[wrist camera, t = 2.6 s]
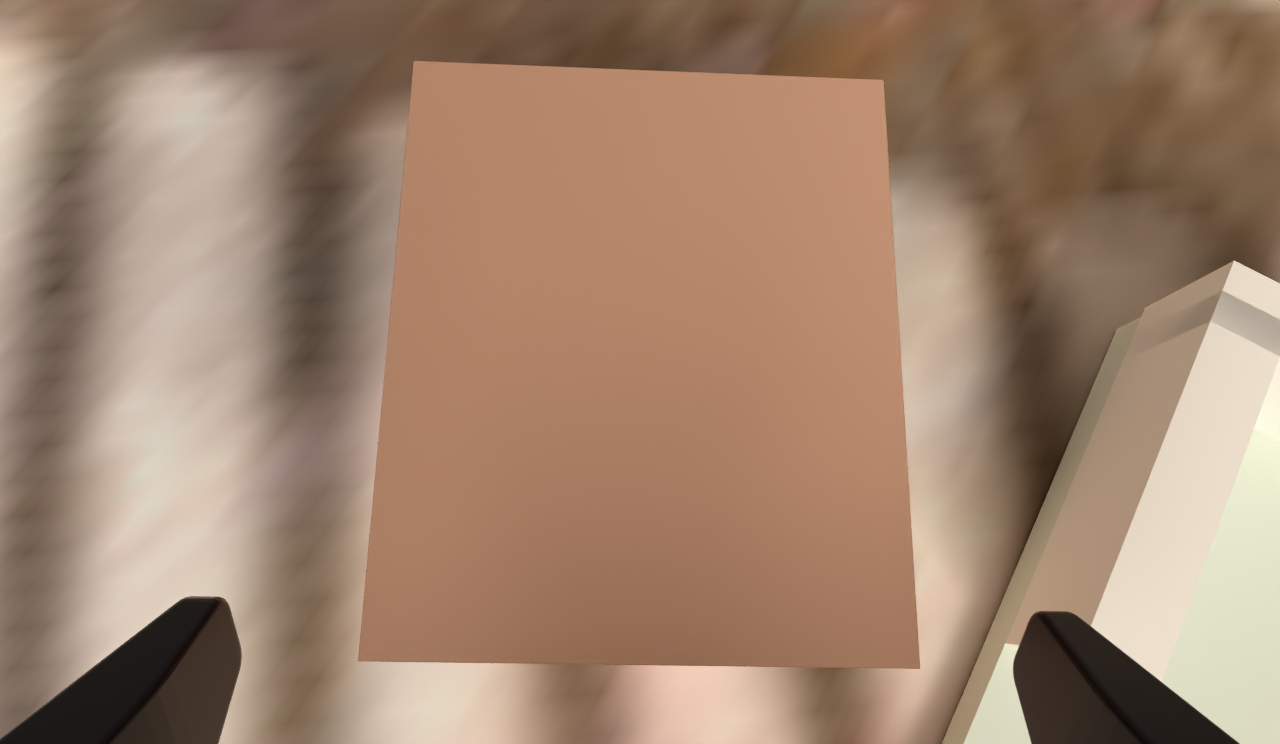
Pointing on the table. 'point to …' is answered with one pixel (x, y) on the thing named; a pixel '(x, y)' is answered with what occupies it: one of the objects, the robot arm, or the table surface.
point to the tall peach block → (642, 376)
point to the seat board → (1164, 516)
